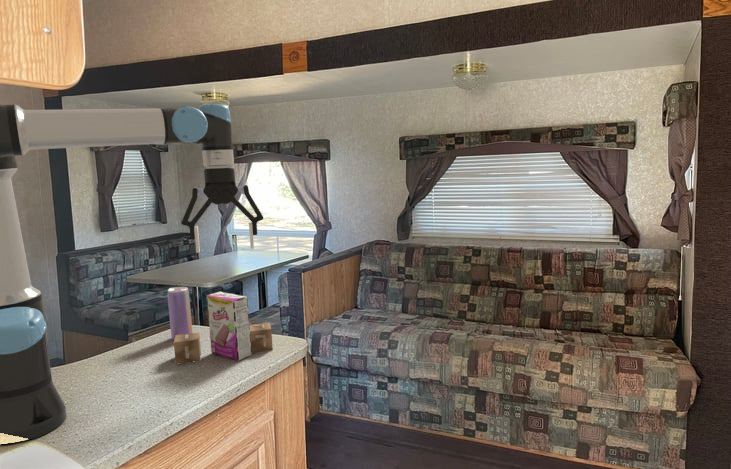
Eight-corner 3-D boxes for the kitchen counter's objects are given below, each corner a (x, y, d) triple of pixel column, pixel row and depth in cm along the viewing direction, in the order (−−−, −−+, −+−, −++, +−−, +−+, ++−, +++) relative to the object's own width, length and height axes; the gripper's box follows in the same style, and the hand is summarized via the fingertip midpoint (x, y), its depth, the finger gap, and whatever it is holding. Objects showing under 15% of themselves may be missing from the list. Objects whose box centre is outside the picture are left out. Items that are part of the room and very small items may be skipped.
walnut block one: (175, 364, 140) (173, 341, 139) (177, 356, 146) (175, 334, 145) (199, 361, 142) (197, 339, 141) (201, 353, 148) (199, 331, 147)
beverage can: (180, 343, 157) (175, 292, 154) (167, 339, 160) (162, 290, 158) (197, 336, 162) (192, 287, 159) (183, 333, 165) (179, 285, 163)
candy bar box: (210, 354, 147) (205, 295, 145) (224, 348, 151) (220, 290, 149) (238, 361, 140) (233, 300, 138) (252, 355, 144) (248, 295, 142)
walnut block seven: (250, 353, 147) (248, 331, 146) (249, 345, 153) (247, 324, 152) (272, 350, 148) (271, 328, 147) (271, 342, 154) (269, 321, 153)
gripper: (165, 169, 131) (173, 256, 134) (269, 165, 137) (275, 248, 140) (168, 169, 138) (176, 251, 141) (268, 164, 144) (273, 243, 147)
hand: (225, 249), depth 141 cm, fingers open, 13 cm apart
